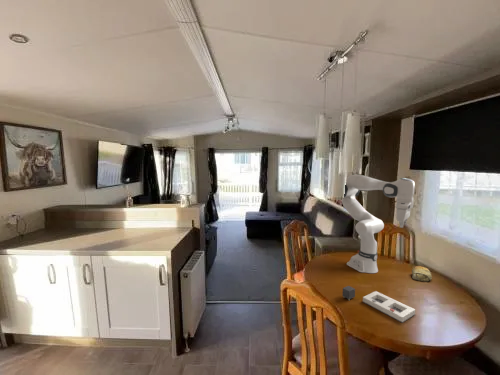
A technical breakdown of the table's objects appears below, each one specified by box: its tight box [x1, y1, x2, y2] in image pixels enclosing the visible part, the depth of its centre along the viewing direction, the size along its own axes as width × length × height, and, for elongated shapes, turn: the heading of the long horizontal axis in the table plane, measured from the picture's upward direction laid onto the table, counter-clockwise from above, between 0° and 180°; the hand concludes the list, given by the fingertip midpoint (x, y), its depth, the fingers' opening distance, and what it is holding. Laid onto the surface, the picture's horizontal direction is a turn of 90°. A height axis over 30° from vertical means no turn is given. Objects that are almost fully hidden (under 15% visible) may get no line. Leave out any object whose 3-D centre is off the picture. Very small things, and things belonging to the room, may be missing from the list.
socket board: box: [362, 290, 416, 324], centre depth 136 cm, size 22×13×4 cm, turn 31°
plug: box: [342, 285, 356, 302], centre depth 146 cm, size 4×6×6 cm
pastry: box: [411, 265, 433, 283], centre depth 172 cm, size 14×12×8 cm
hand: (403, 226), depth 153 cm, fingers open, 8 cm apart
